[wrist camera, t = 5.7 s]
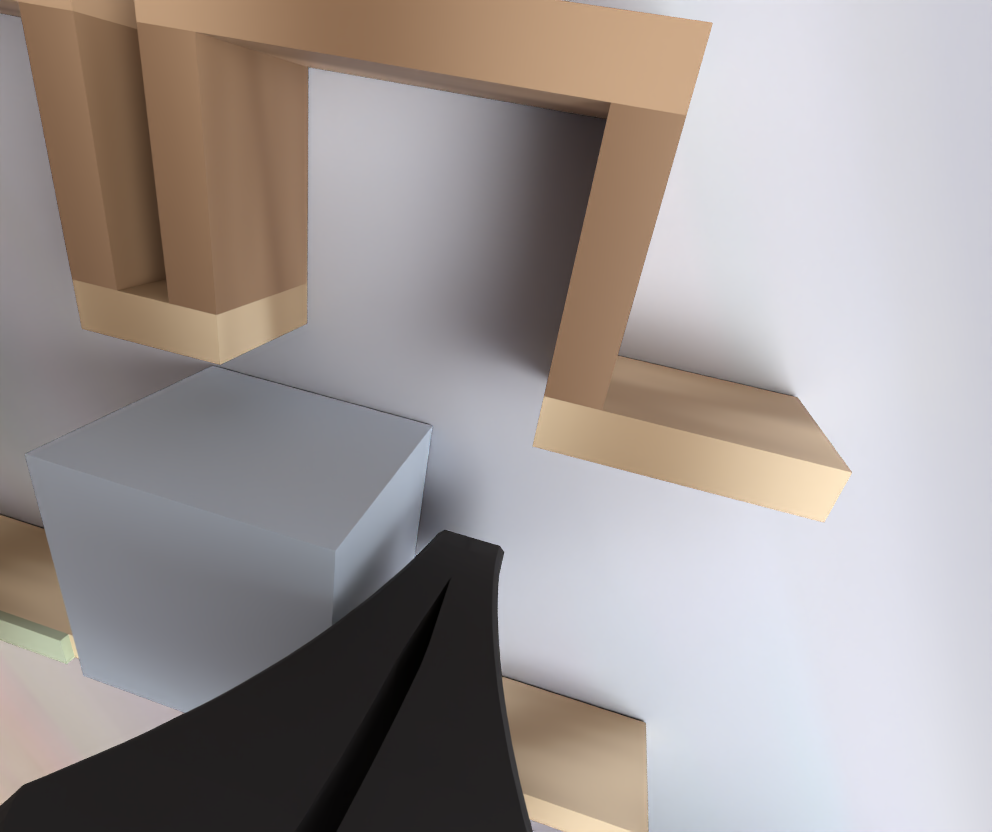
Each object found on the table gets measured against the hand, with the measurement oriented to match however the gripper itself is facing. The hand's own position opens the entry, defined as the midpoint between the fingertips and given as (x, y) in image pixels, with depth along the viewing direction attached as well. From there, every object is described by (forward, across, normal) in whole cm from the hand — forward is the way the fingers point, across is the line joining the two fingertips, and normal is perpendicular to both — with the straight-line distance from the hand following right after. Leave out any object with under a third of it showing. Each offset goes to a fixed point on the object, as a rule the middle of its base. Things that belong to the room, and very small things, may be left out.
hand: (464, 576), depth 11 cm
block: (+1, +4, 0) cm, 4 cm away
